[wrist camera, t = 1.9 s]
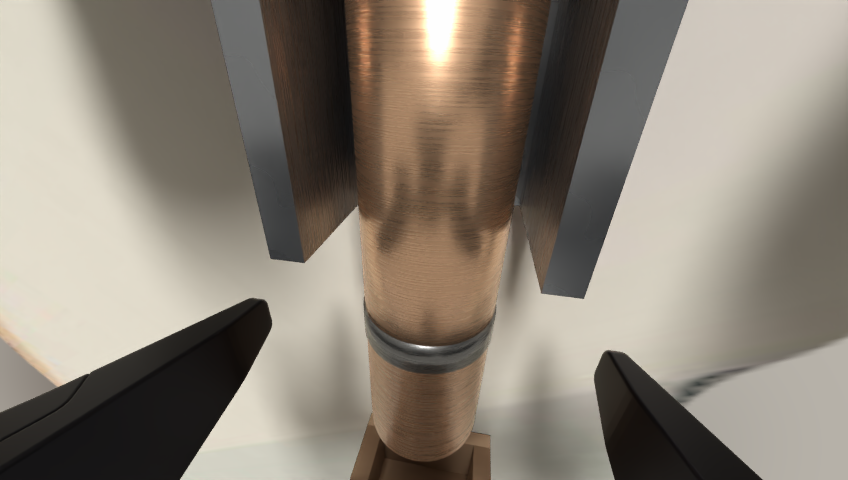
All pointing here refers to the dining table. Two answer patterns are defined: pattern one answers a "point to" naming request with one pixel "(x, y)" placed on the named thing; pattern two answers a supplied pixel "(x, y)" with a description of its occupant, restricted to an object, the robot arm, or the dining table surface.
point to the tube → (436, 197)
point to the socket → (397, 476)
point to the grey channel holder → (545, 142)
